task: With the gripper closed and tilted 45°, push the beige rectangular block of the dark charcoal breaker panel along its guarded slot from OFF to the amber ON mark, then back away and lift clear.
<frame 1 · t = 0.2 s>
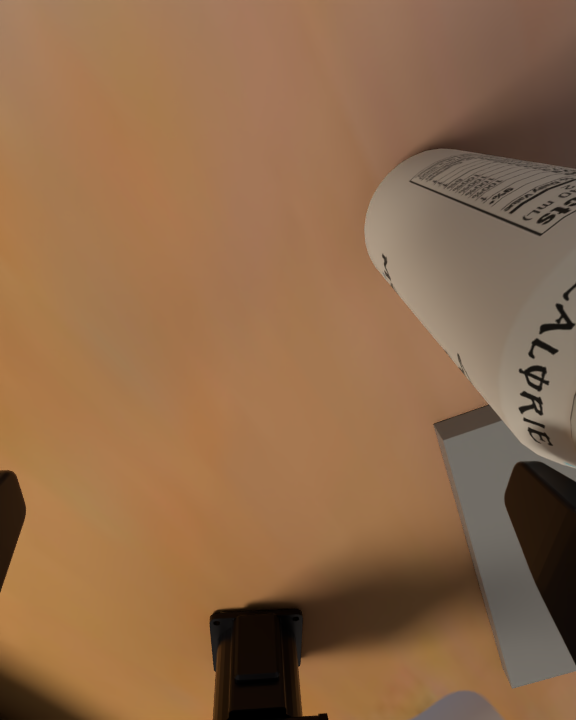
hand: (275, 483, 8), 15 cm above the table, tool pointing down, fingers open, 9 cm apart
energy drink can: (424, 219, 21), on the table
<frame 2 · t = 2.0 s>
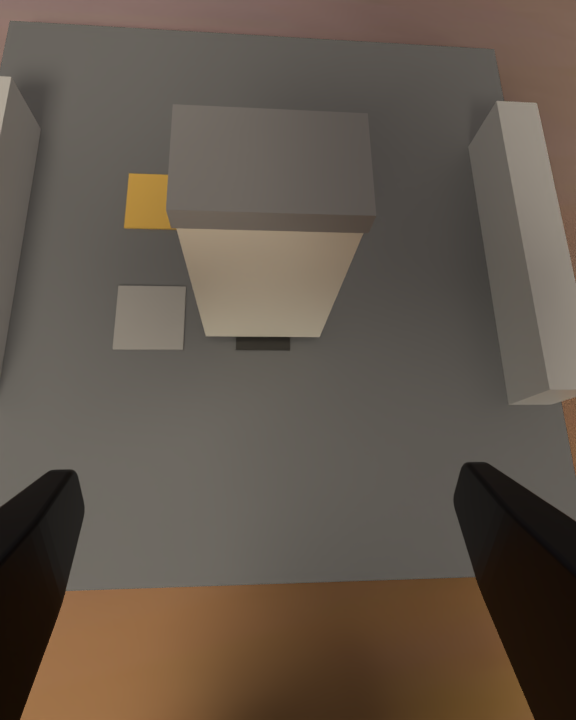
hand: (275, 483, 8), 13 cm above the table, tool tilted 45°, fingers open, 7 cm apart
breaker panel: (261, 274, 23), on the table
beige rectangular block: (266, 252, 16), point 7 cm above the table, slide at 0.0 cm
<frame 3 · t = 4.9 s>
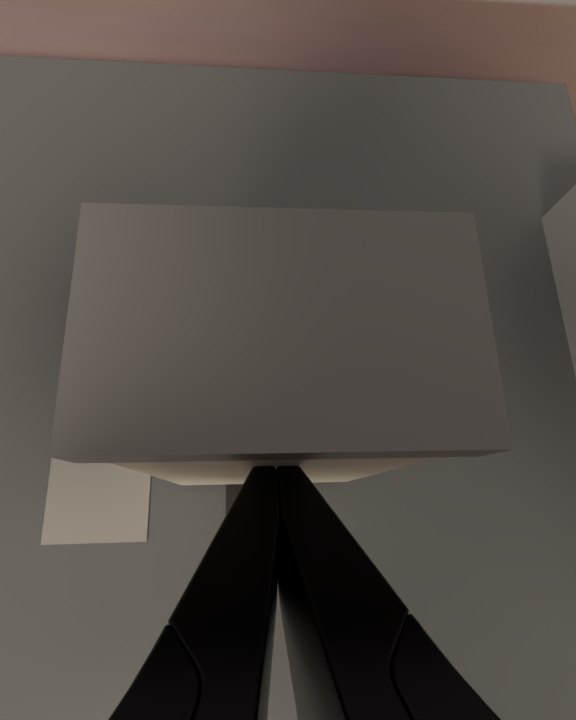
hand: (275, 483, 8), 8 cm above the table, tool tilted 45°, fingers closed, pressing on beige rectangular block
breaker panel: (262, 402, 17), on the table
beige rectangular block: (271, 402, 10), point 7 cm above the table, slide at 1.1 cm, touching gripper
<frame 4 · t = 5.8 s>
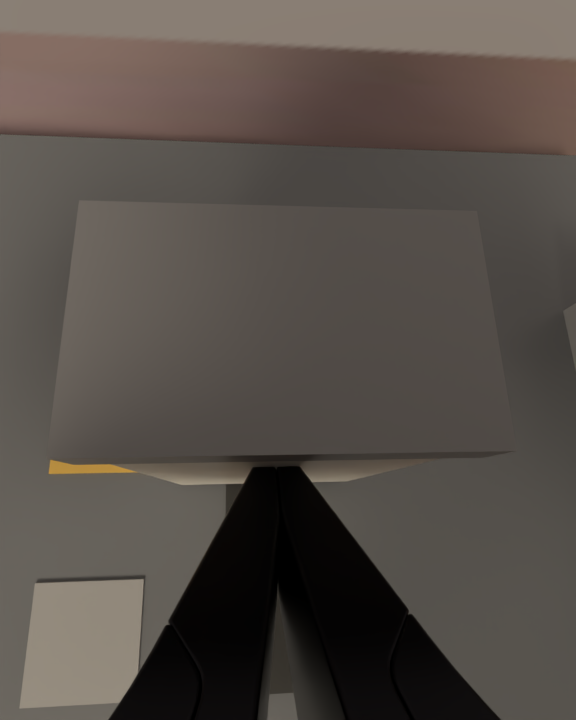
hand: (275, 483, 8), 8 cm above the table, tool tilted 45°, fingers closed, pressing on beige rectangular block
breaker panel: (263, 519, 16), on the table
beige rectangular block: (271, 401, 10), point 7 cm above the table, slide at 5.1 cm, touching gripper
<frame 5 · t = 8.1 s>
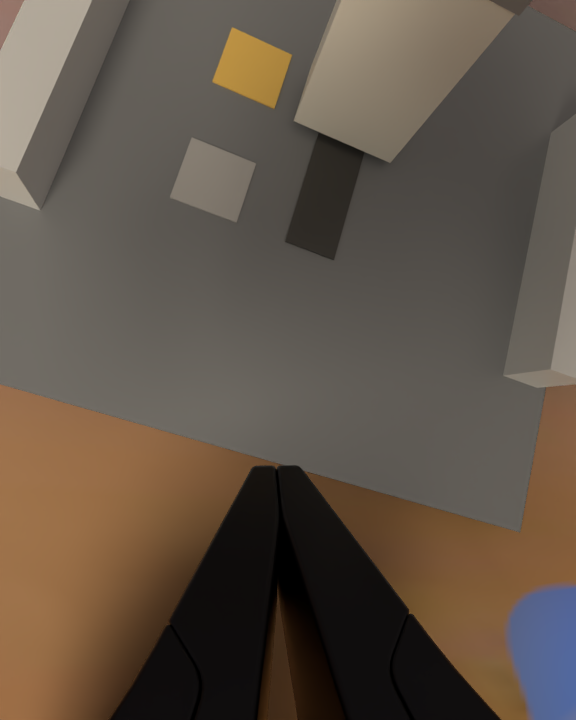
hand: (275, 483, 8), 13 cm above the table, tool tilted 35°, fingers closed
breaker panel: (324, 181, 24), on the table
beige rectangular block: (395, 37, 18), point 7 cm above the table, slide at 5.0 cm
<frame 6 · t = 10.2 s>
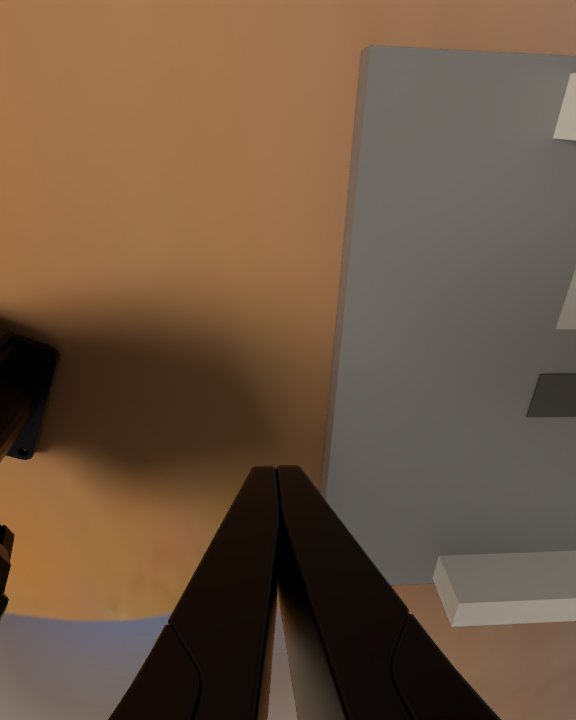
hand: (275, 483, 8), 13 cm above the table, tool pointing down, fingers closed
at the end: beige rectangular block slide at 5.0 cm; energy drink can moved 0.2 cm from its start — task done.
